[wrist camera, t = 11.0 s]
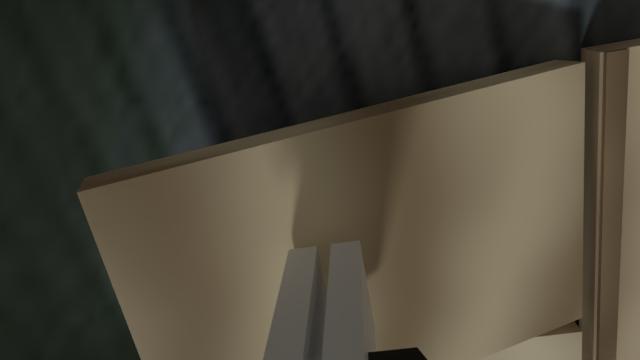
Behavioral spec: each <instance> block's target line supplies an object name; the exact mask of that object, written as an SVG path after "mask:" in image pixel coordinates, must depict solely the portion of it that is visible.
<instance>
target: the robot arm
mask: <svg viewBox="0 0 640 360" xmlns="http://www.w3.org/2000/svg"><path fill="white" fill-rule="evenodd" d="M263 360H427V358H426V357H425V356H424V355H423V353H422V352H421V351H420V350H419V349H418V347H414V348H404V349H395V350H385V351H376V340H375V326H374V320H373V314H372V308H371V303H370V297H369V291H368V285H367V279H366V274H365V268H364V262H363V256H362V250H361V245H360V240H358V241H350V242H343V243H335V244H331V249H330V262H329V275H328V289H327V291H326V286H325V282H324V277H323V272H322V267H321V263H320V258H319V253H318V248H317V246H313V247H305V248H297V249H290V250H289V251H288V255H287V259H286V263H285V268H284V272H283V276H282V280H281V285H280V289H279V293H278V297H277V302H276V306H275V310H274V314H273V319H272V323H271V327H270V331H269V335H268V340H267V344H266V348H265V352H264V357H263Z"/></svg>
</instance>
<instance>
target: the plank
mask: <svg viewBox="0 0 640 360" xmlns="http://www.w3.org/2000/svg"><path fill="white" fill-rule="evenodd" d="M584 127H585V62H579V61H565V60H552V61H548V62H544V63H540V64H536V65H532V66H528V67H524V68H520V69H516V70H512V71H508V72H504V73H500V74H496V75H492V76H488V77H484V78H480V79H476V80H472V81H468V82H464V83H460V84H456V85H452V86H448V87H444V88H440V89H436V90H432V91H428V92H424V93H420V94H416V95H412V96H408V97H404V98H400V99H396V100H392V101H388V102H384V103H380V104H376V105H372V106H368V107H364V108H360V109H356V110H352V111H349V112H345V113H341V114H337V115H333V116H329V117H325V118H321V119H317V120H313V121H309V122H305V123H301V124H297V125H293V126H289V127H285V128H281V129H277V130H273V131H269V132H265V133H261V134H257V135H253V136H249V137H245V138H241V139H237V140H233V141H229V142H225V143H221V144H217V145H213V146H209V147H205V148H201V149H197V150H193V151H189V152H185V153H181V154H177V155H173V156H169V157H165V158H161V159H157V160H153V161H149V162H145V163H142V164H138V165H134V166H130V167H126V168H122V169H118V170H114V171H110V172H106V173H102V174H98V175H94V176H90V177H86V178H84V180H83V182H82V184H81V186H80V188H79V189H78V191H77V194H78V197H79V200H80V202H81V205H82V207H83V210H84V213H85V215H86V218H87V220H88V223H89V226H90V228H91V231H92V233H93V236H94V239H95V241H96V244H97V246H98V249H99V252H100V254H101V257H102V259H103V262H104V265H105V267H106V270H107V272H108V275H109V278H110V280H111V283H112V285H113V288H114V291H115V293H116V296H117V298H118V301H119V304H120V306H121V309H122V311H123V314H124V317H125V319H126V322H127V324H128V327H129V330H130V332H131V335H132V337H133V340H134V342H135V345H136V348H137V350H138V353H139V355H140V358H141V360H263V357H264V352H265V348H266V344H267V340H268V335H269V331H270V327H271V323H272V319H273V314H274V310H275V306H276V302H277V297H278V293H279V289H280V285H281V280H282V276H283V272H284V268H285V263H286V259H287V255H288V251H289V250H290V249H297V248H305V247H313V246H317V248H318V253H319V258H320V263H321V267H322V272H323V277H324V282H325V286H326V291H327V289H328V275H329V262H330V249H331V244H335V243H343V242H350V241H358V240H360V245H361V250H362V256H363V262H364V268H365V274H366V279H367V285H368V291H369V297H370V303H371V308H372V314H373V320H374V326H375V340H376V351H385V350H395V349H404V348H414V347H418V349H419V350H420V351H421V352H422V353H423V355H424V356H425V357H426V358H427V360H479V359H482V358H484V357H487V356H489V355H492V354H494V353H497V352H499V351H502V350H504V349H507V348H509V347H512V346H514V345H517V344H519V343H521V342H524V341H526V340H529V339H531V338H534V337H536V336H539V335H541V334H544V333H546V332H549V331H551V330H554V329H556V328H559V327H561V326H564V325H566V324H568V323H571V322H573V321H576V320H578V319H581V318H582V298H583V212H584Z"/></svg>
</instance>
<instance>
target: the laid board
mask: <svg viewBox="0 0 640 360" xmlns="http://www.w3.org/2000/svg"><path fill="white" fill-rule="evenodd" d="M581 62H585V127H584V212H583V298H582V318H581V319H579V328H580V330H581V331H582V360H640V38H638V39H633V40H627V41H621V42H615V43H609V44H603V45H597V46H592V47H586V48H581Z"/></svg>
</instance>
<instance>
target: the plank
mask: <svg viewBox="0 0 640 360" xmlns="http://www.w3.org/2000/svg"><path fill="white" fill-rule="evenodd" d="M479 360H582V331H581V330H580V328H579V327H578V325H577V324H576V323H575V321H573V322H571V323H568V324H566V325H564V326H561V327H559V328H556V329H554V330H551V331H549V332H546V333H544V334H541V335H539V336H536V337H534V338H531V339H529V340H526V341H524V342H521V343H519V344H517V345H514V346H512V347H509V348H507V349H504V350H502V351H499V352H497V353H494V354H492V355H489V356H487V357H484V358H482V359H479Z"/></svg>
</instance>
